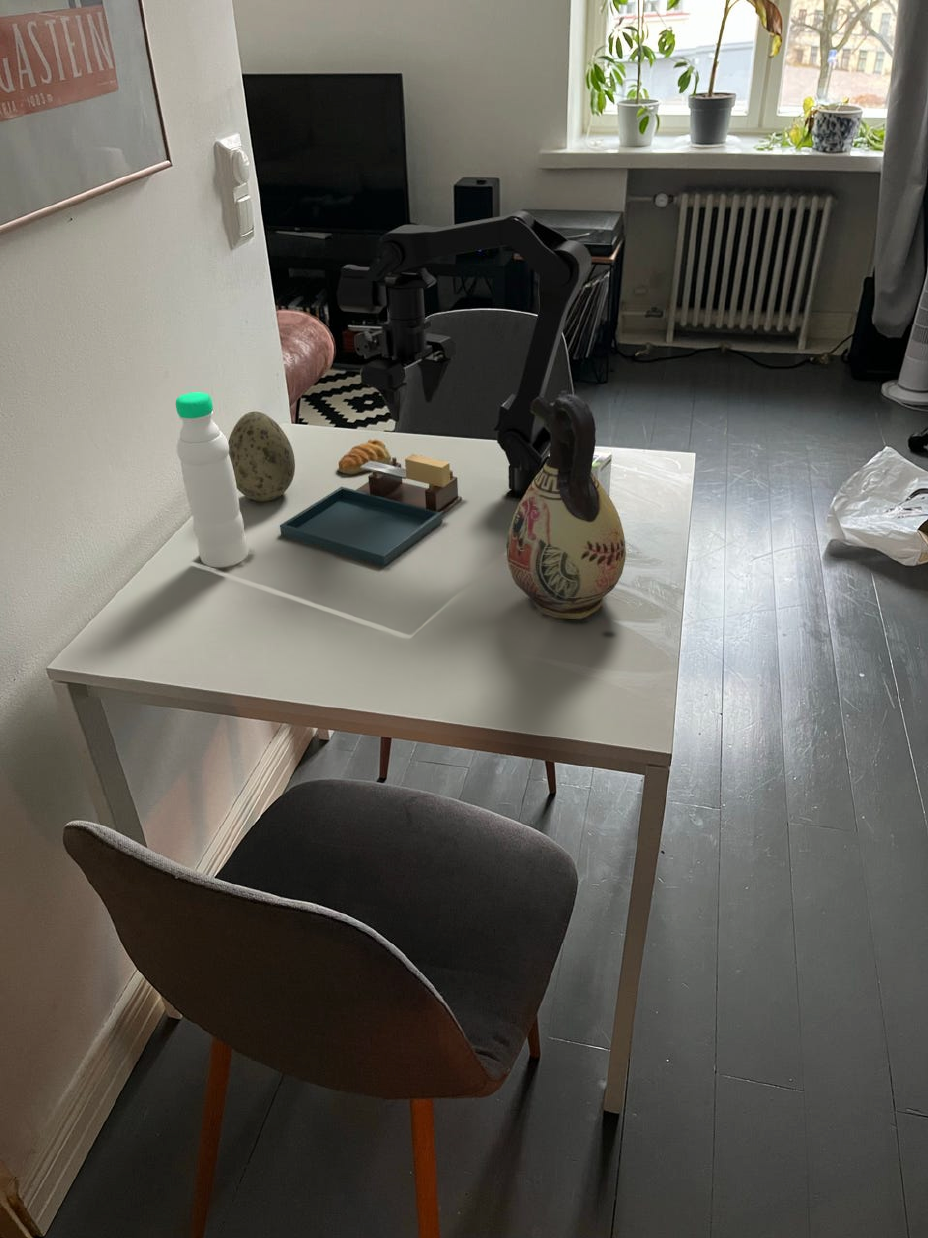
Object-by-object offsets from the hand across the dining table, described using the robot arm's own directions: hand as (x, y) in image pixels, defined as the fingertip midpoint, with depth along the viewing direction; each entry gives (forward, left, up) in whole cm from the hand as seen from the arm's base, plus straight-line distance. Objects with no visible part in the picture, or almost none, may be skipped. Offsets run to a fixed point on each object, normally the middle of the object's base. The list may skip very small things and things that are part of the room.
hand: (413, 411), depth 152 cm
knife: (-3, +7, -8) cm, 11 cm away
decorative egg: (+18, +18, -12) cm, 28 cm away
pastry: (+11, 0, -12) cm, 16 cm away
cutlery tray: (-3, +19, -12) cm, 23 cm away
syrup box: (-35, +8, -12) cm, 38 cm away
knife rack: (-3, +7, -12) cm, 14 cm away
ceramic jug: (-40, +23, -12) cm, 48 cm away
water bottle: (+10, +36, -12) cm, 39 cm away
